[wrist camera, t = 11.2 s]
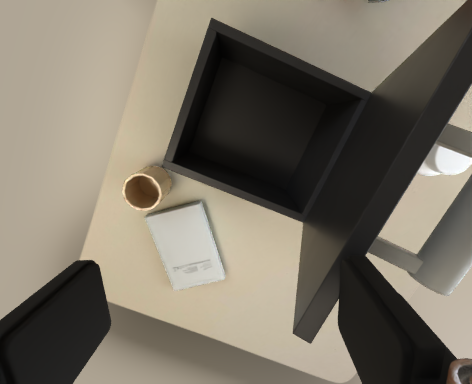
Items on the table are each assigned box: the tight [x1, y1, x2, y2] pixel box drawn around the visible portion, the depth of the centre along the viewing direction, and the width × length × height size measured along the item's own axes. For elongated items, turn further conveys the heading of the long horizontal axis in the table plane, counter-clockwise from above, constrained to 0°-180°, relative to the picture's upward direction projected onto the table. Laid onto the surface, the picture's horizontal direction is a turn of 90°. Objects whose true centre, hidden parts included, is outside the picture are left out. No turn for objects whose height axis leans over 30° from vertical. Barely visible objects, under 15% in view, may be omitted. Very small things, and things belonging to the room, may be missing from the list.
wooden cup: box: [122, 166, 171, 211], centre depth 33 cm, size 5×5×5 cm
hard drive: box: [145, 201, 225, 291], centre depth 37 cm, size 2×8×12 cm
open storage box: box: [162, 18, 371, 223], centre depth 28 cm, size 16×14×10 cm
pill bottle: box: [416, 144, 472, 176], centre depth 29 cm, size 5×5×10 cm
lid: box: [293, 0, 472, 343], centre depth 16 cm, size 16×14×5 cm
